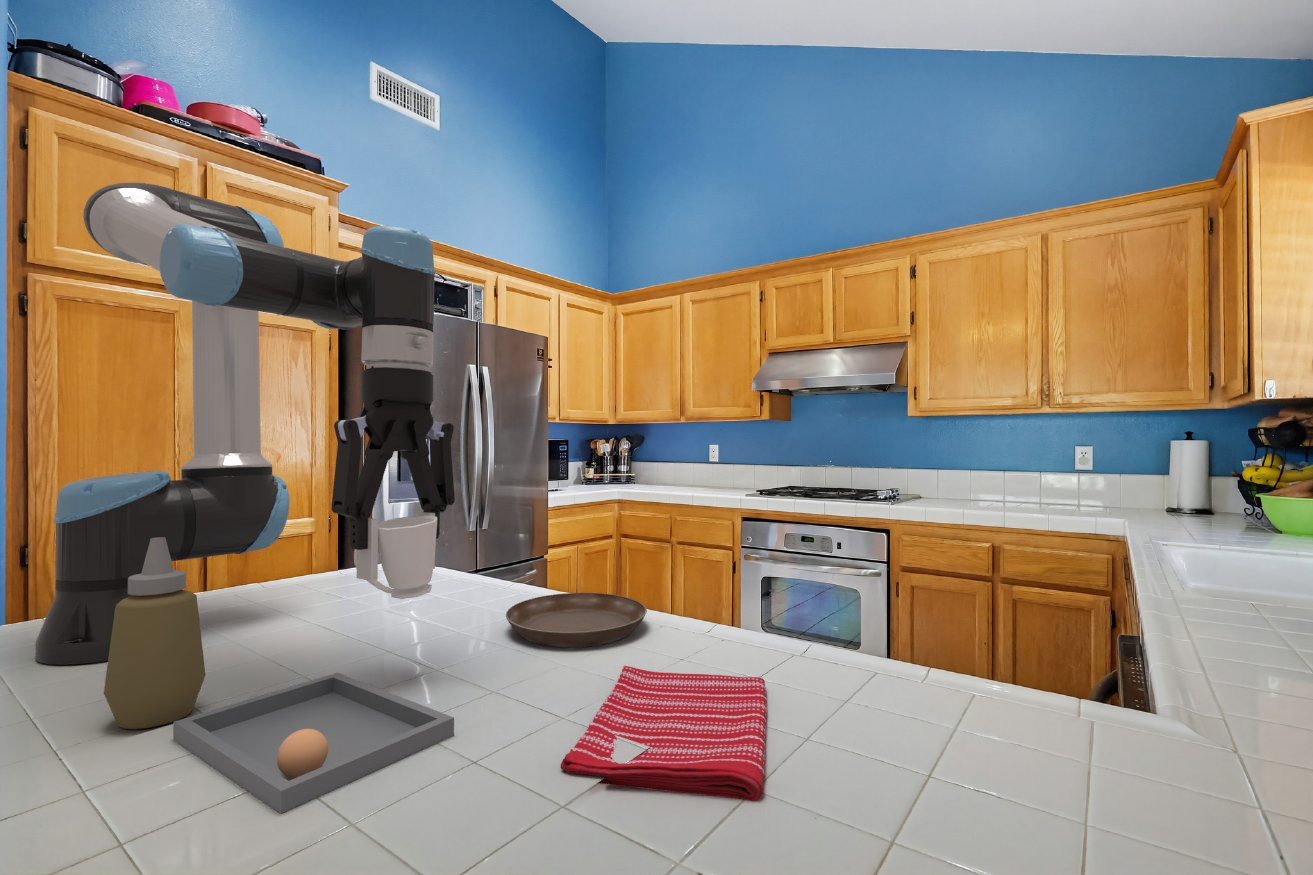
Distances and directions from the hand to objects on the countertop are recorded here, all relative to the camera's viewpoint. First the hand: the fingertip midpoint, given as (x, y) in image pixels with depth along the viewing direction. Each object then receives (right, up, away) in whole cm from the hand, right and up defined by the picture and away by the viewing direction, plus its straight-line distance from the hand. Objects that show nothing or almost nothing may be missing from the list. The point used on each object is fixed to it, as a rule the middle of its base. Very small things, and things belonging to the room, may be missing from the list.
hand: (397, 572), depth 71 cm
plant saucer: (+18, -14, +23) cm, 32 cm away
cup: (0, -2, 0) cm, 2 cm away
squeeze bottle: (-21, -13, -8) cm, 26 cm away
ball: (+1, -12, -21) cm, 24 cm away
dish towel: (+31, -14, -10) cm, 36 cm away
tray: (-2, -13, -14) cm, 19 cm away
